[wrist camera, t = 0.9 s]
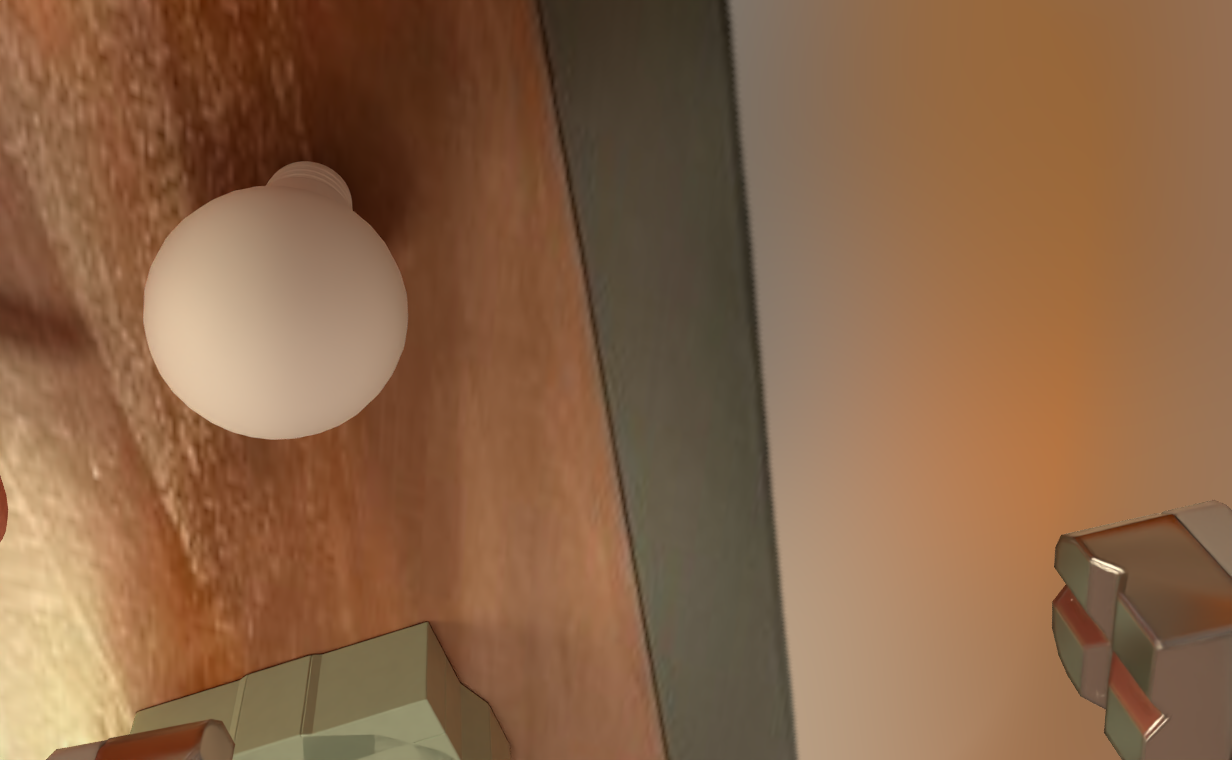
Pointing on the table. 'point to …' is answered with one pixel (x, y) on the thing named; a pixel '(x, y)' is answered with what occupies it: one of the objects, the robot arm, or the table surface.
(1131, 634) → the robot arm
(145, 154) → the table surface
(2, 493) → the teapot
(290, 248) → the lightbulb
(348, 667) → the square stone ashtray
